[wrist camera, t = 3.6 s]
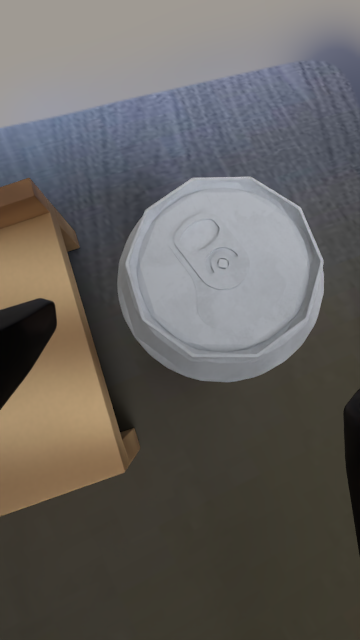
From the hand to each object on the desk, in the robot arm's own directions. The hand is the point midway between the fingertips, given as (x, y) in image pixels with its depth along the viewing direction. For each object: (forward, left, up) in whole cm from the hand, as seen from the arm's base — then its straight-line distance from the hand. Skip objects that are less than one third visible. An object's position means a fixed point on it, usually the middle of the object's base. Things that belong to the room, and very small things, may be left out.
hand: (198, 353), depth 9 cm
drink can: (+1, -1, -9) cm, 9 cm away
